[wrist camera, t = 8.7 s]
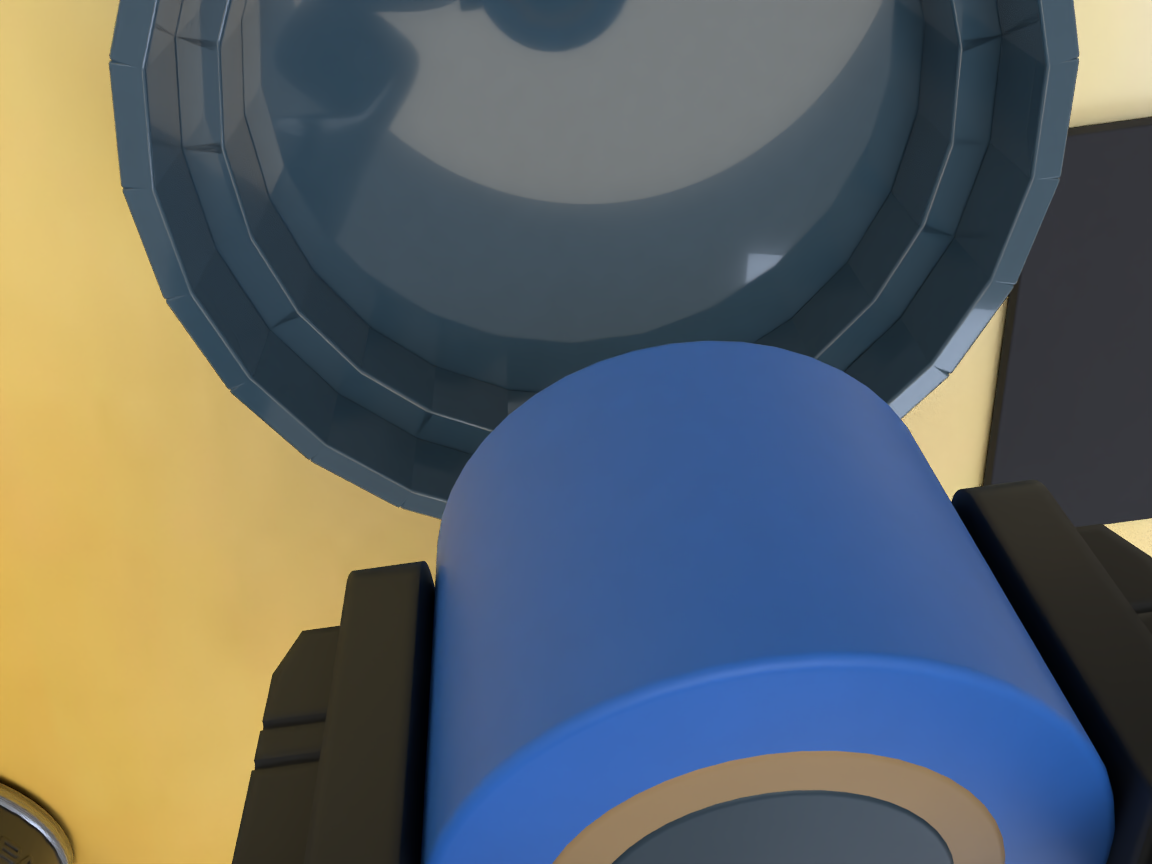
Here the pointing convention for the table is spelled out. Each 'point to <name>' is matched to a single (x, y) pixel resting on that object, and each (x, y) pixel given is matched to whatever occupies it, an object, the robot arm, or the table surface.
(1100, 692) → the robot arm
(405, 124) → the bowl
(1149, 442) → the mat
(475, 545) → the tape roll
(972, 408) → the table surface
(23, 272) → the table surface
